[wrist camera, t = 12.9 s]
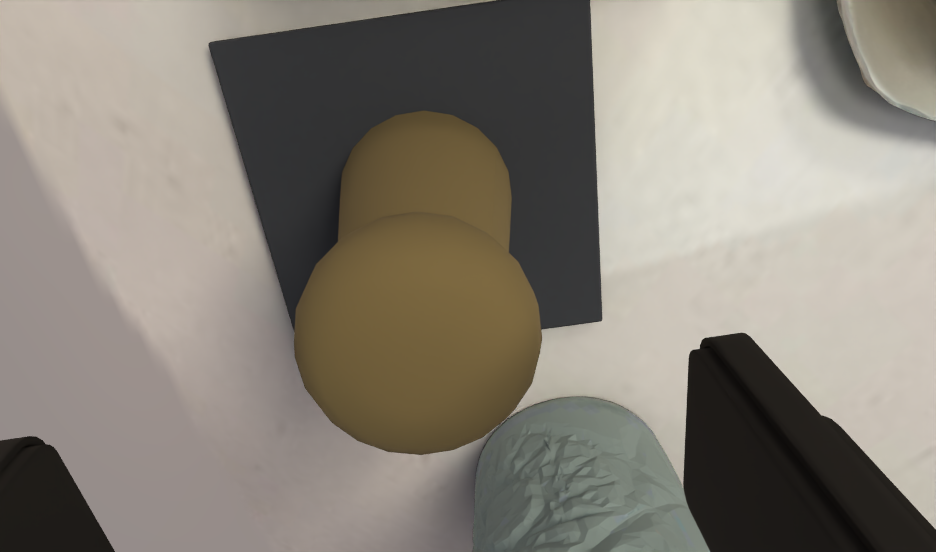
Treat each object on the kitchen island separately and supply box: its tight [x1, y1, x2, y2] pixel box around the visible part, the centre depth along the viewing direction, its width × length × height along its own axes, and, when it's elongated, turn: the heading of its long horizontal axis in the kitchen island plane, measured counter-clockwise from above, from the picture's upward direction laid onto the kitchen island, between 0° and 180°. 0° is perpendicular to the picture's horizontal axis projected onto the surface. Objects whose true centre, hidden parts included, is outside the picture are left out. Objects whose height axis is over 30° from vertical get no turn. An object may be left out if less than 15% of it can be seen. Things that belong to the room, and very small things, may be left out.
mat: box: [209, 0, 602, 333], centre depth 22 cm, size 12×12×1 cm
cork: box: [294, 111, 542, 455], centre depth 16 cm, size 6×6×11 cm
